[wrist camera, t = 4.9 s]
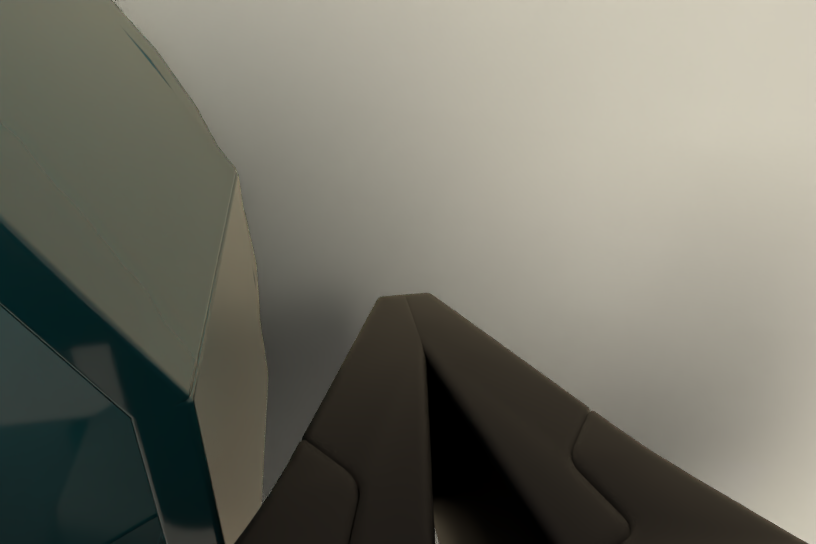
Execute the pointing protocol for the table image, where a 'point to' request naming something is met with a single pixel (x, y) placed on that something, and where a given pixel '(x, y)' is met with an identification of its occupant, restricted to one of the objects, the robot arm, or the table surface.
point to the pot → (120, 295)
